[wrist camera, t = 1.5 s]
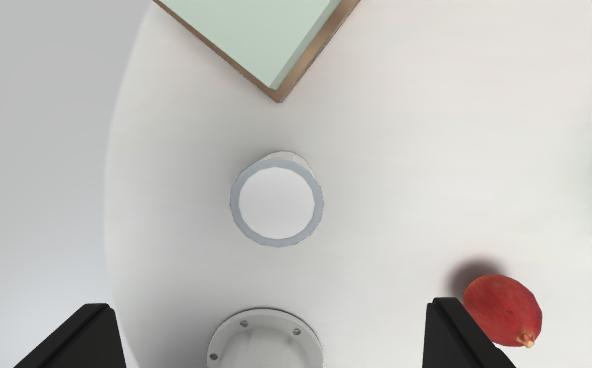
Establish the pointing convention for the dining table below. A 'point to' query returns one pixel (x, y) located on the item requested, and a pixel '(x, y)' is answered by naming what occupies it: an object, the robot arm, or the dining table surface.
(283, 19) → the tower top block
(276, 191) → the white cup
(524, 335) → the onion
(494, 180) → the dining table surface
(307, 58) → the tower base block
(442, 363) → the robot arm
